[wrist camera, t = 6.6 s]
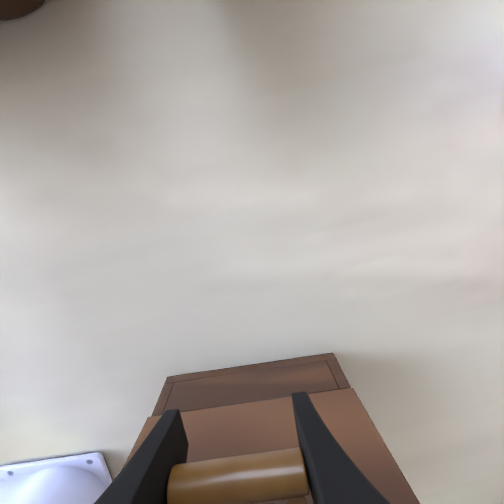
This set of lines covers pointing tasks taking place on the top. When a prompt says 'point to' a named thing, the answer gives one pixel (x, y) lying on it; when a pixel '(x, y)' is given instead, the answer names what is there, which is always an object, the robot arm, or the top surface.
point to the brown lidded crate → (251, 383)
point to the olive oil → (17, 8)
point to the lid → (273, 452)
